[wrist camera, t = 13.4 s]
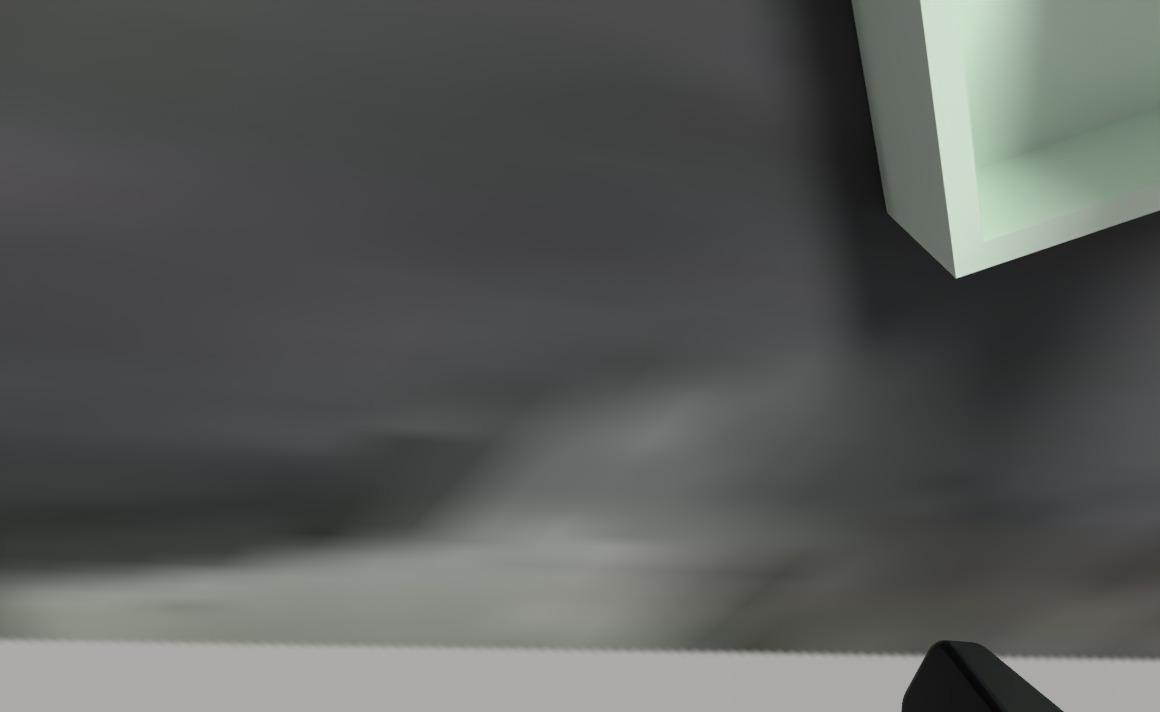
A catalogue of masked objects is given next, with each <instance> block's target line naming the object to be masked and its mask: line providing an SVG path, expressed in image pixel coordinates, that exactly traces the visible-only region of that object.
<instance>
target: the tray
mask: <svg viewBox="0 0 1160 712" xmlns="http://www.w3.org/2000/svg"><path fill="white" fill-rule="evenodd" d="M851 1H852V7H853V13H854V19H855V25H856V31H857V37H858V43H859V49H860V55H861V61H862V67H863V73H864V79H865V85H866V91H867V97H868V103H869V109H870V115H871V121H872V127H873V133H874V139H875V145H876V150H877V156H878V162H879V168H880V174H881V180H882V186H883V192H884V198H885V204H886V210H887V213H888V214H889V215H890V216H891V217H892V218H893V219H894V220H895V221H896V222H897V223H898V224H899V225H900V226H901V227H902V228H903V229H905V230H906V231H907V232H908V233H909V234H910V235H911V236H912V237H913V238H914V239H915V240H916V241H917V242H918V243H919V244H920V245H921V246H922V247H923V248H924V249H925V250H927V251H928V252H929V253H930V254H931V255H932V256H933V257H934V258H935V259H936V260H937V261H938V262H939V263H940V264H941V265H942V266H943V267H944V268H945V269H946V270H948V271H949V272H950V273H951V274H952V275H953V276H954V277H955V278H956V279H957V278H960V277H963V276H966V275H969V274H972V273H974V272H977V271H980V270H983V269H986V268H989V267H992V266H995V265H998V264H1001V263H1004V262H1007V261H1010V260H1013V259H1016V258H1019V257H1022V256H1025V255H1028V254H1031V253H1034V252H1037V251H1040V250H1043V249H1046V248H1049V247H1052V246H1055V245H1058V244H1061V243H1064V242H1067V241H1070V240H1073V239H1076V238H1079V237H1082V236H1084V235H1087V234H1090V233H1093V232H1096V231H1099V230H1102V229H1105V228H1108V227H1111V226H1114V225H1117V224H1120V223H1123V222H1126V221H1129V220H1132V219H1135V218H1138V217H1141V216H1144V215H1147V214H1150V213H1153V212H1156V211H1159V210H1160V0H851Z"/></svg>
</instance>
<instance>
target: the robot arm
mask: <svg viewBox="0 0 1160 712" xmlns="http://www.w3.org/2000/svg"><path fill="white" fill-rule="evenodd" d="M902 712H1063V711H1062V710H1061V709H1060V708H1058V707H1057V706H1056V705H1055V704H1053V703H1052V702H1051V701H1050V700H1049V699H1047V698H1046V697H1045V696H1044V695H1043V694H1041V693H1040V692H1039V691H1038V690H1036V689H1035V688H1034V687H1033V686H1031V685H1030V684H1029V683H1028V682H1027V681H1025V680H1024V679H1023V678H1022V677H1021V676H1019V675H1018V674H1017V673H1016V672H1015V671H1013V670H1012V669H1011V668H1010V667H1008V666H1007V665H1006V664H1005V663H1004V662H1002V661H1001V660H1000V659H999V658H998V657H996V656H995V655H994V654H993V653H991V652H990V651H989V650H988V649H986V648H985V647H984V646H982V645H980V644H977V643H973V642H960V641H947V640H943V641H938V642H937V643H935V644H934V645H932V646H931V648H930V649H929V651H928V652H927V654H926V656H925V658H924V660H923V662H922V664H921V665H920V667H919V669H918V671H917V672H916V674H915V676H914V678H913V680H912V682H911V683H910V686H909V687H908V689H907V691H906V693H905V695H904V698H903V703H902Z"/></svg>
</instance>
